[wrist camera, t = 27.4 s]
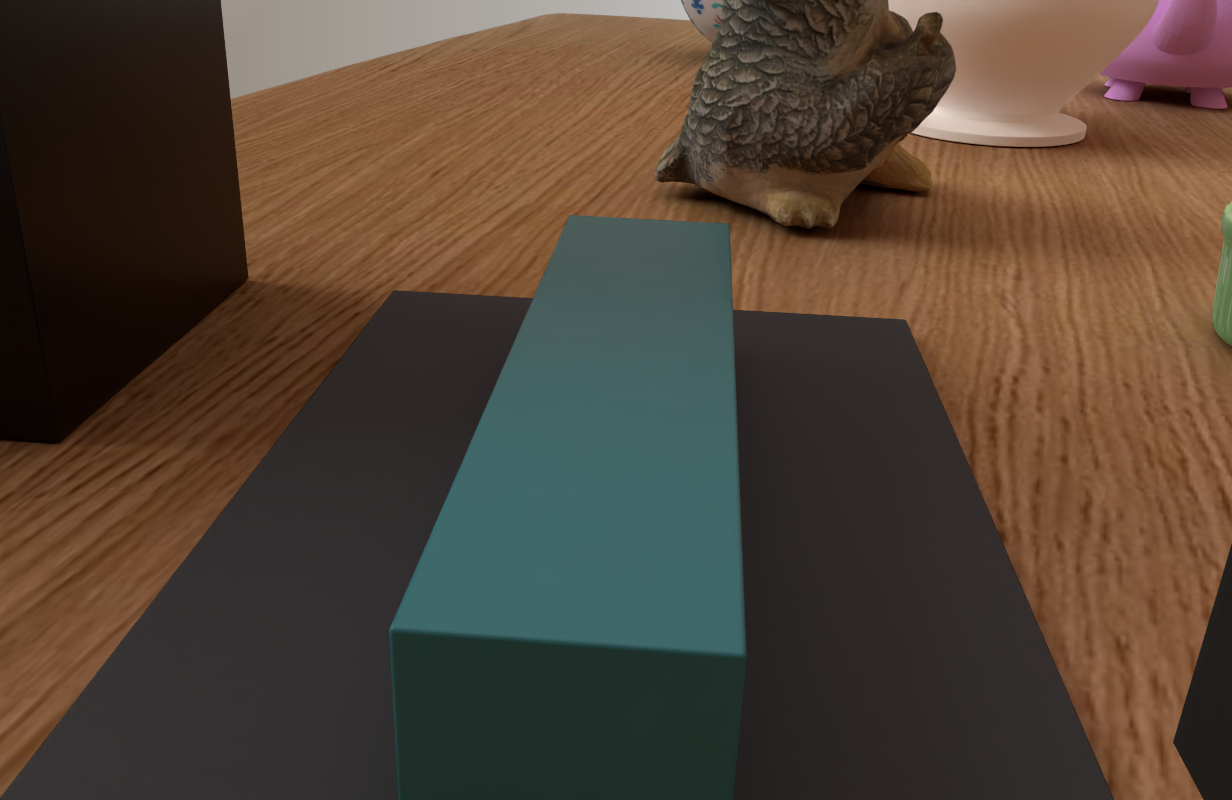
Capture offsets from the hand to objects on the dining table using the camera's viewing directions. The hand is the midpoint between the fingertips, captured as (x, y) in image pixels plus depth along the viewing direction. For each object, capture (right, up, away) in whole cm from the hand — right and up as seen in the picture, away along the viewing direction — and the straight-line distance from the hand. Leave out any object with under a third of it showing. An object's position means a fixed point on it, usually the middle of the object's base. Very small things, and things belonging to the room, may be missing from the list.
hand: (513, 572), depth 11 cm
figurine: (+10, +11, +45) cm, 48 cm away
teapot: (+43, +25, +79) cm, 93 cm away
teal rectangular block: (+4, +1, +16) cm, 16 cm away
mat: (+1, -1, +18) cm, 18 cm away
